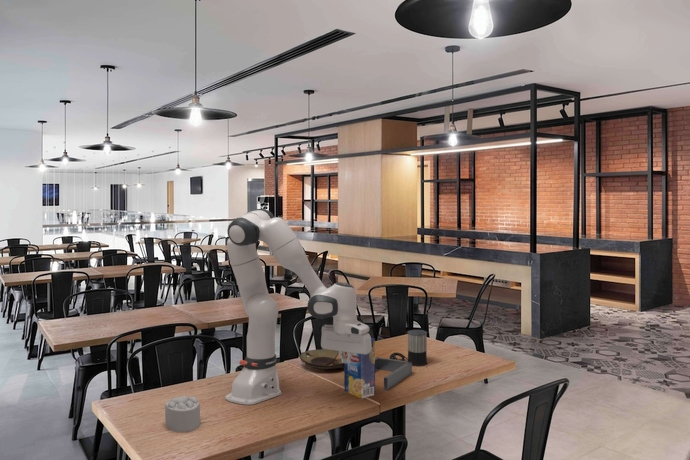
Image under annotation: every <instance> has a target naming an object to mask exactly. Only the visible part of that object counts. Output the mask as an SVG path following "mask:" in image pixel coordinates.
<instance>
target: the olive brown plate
mask: <svg viewBox="0 0 690 460" xmlns="http://www.w3.org/2000/svg"><path fill="white" fill-rule="evenodd" d="M299 356H300V357H299V359H300V361H301V362H302V363H304V364H306V365H308V366H309V367H312V368H316V369H320V370H333V369H339V368H343V369H344V363H342V360H341V358H339V359H337V360H336V358H337V357H338V356H339V351H336V350H328V349H323V348H321V349H320V348H319V349H311V350H309V349H308V350H306V351H303V352H301V354H300V355H299Z"/></svg>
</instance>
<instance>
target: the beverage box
mask: <svg viewBox="0 0 690 460" xmlns="http://www.w3.org/2000/svg"><path fill="white" fill-rule="evenodd" d="M375 340H376V338H374V337H371V344H372V350H371V352H370V353H368V354H366V355H365V354H358V353H353V355H352V357H351V362H350V363H349V364H346V363H344V368H343V370H344V374H343V375H344V376H343V377H344V378H343V379H344V382H343V383H344V389H343V390H344V392H346V393H348V394H351V395H353V396H355V397H357V398H359V399H365V398H369V397H371V396H375V395H376V383H375V382H376V371H375V358H376V344H375V343H376V341H375ZM344 355H345V357H346V358H347V357H348V355H347V352H344Z"/></svg>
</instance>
